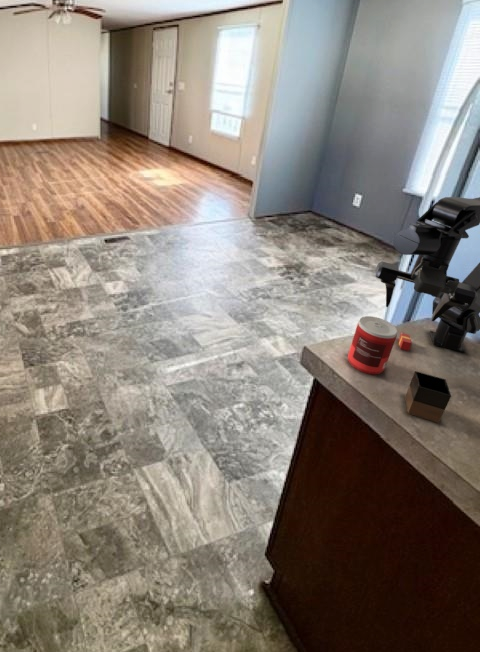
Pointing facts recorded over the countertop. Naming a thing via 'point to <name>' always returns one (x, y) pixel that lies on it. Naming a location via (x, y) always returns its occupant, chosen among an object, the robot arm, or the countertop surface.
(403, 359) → the countertop surface
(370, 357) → the canned food
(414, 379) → the open brown box
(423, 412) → the dark brown cube
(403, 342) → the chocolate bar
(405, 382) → the countertop surface
